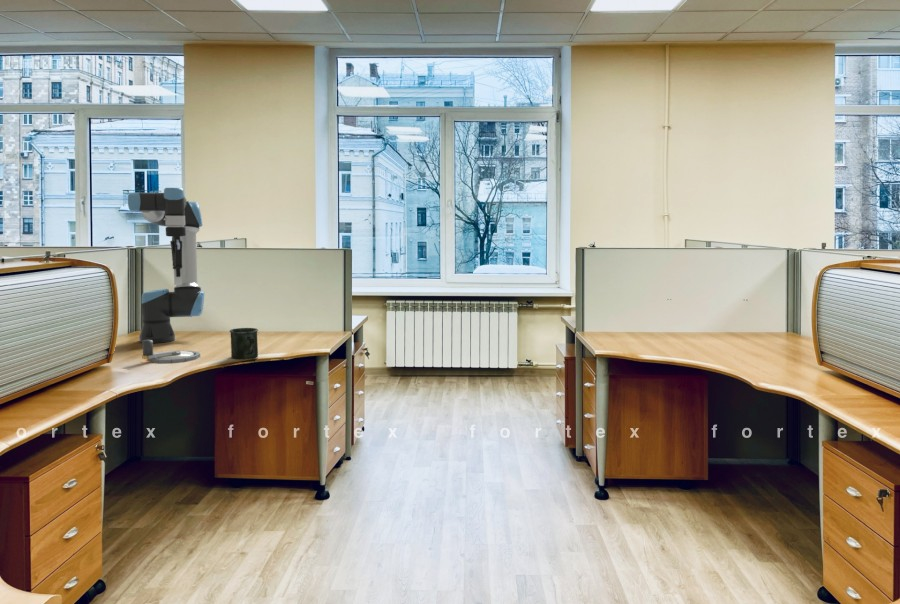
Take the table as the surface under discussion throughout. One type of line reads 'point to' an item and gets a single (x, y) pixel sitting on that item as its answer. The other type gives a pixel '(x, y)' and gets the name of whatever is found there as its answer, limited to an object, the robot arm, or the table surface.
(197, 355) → the panel
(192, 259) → the robot arm
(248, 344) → the mug
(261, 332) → the table surface
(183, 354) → the dial
